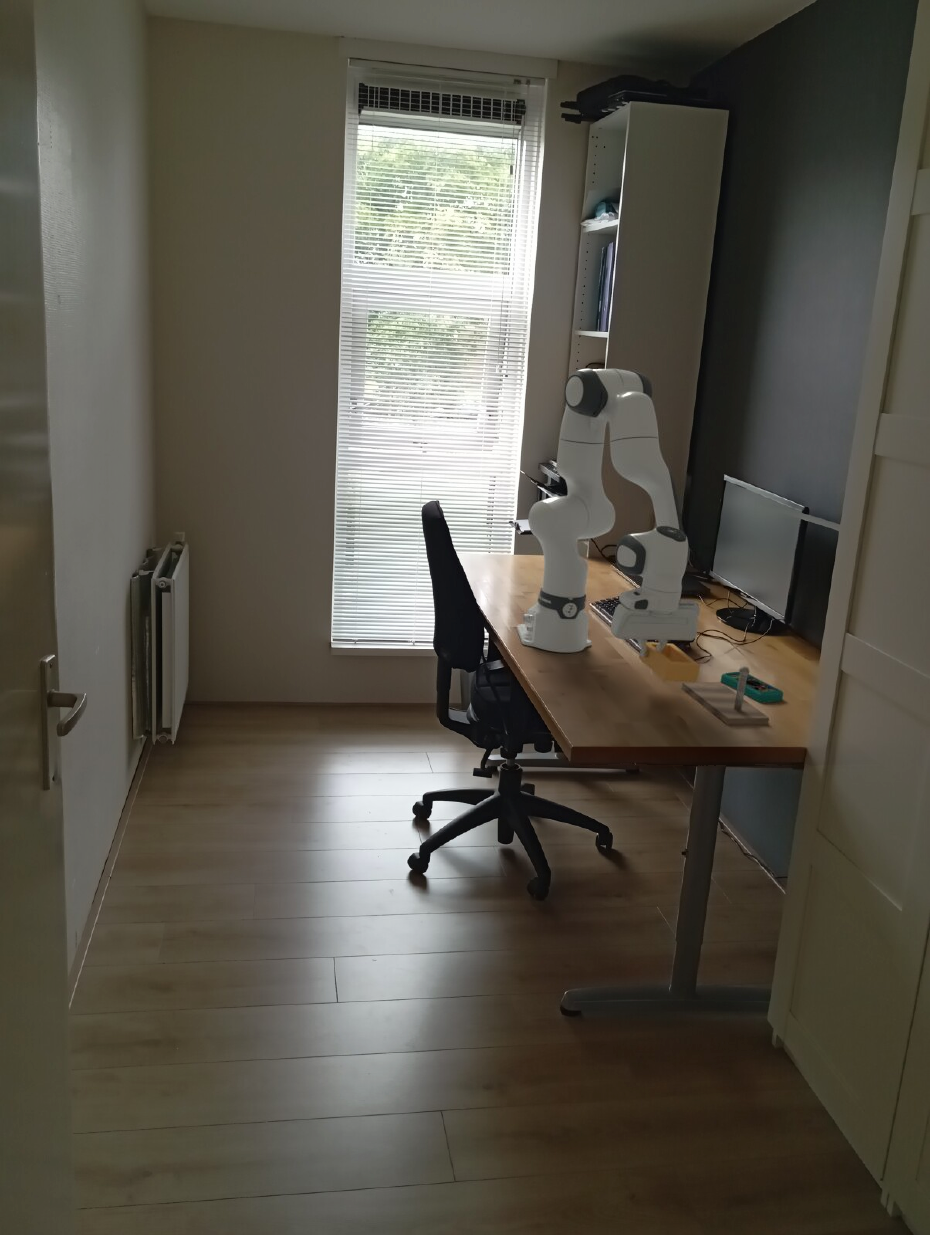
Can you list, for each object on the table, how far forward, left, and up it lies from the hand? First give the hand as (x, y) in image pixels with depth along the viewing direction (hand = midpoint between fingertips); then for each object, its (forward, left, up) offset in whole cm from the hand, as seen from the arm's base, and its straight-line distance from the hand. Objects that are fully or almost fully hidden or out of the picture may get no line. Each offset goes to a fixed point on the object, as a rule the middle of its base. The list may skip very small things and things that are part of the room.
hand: (649, 656), depth 234 cm
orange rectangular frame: (+3, +3, -2) cm, 5 cm away
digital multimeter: (0, +28, -9) cm, 29 cm away
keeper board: (+9, +16, -9) cm, 20 cm away
